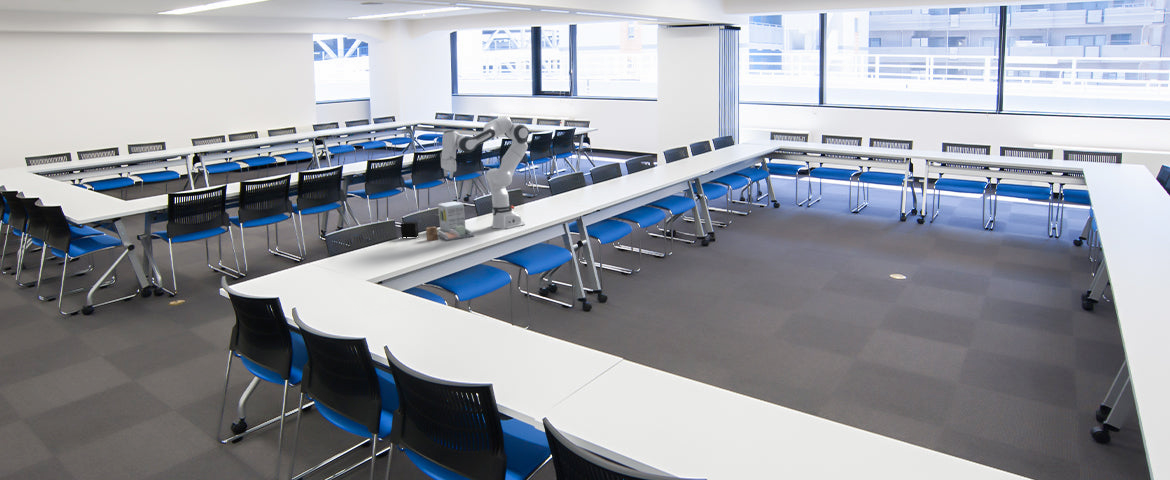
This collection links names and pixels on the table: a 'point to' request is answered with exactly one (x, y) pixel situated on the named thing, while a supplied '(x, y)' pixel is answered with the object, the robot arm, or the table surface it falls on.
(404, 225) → the electronic device
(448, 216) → the supplement box
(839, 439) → the table surface
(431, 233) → the walnut plug
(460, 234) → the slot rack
